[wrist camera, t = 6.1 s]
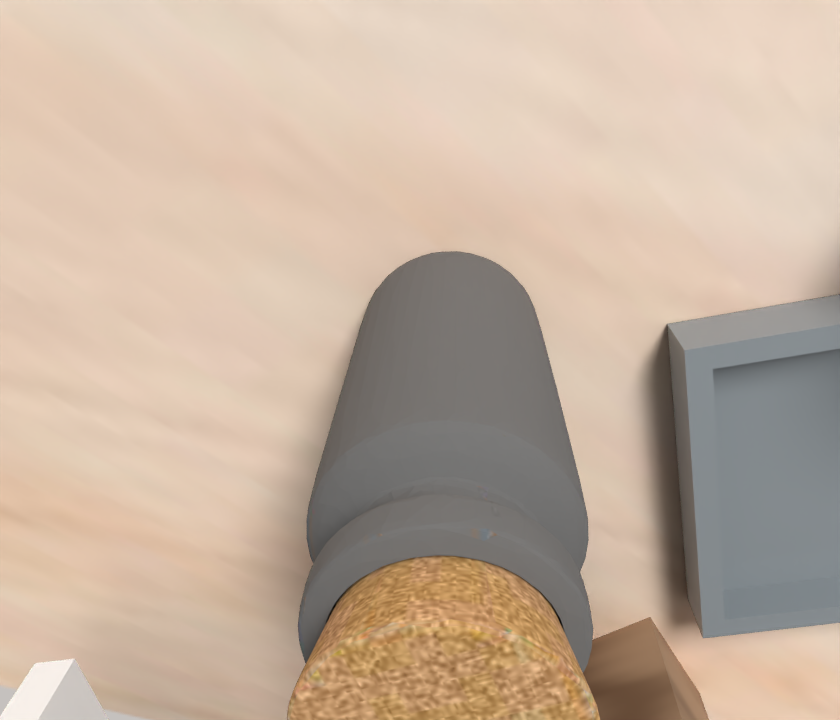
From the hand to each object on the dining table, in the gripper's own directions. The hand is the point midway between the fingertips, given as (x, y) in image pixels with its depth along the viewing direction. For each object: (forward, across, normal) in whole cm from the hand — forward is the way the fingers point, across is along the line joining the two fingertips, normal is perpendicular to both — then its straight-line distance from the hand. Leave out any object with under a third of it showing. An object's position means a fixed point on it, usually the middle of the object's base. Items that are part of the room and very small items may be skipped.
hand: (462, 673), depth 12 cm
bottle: (+14, 0, 0) cm, 14 cm away
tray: (+14, +12, -7) cm, 20 cm away
